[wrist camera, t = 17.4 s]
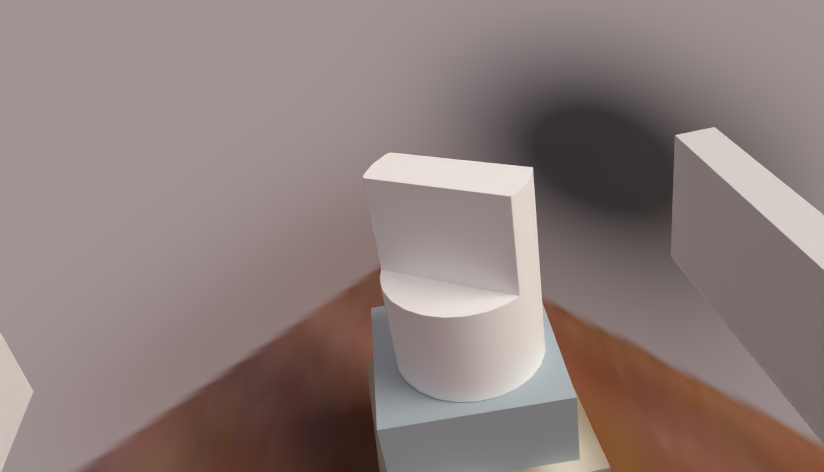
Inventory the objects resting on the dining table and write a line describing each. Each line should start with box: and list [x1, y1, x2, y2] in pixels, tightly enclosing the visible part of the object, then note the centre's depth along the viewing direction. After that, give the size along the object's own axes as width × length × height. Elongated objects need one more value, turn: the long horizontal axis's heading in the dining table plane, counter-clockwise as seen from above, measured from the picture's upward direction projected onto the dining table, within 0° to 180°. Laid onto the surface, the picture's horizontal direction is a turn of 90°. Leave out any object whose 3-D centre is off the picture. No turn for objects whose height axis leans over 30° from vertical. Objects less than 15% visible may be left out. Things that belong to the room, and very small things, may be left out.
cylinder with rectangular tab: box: [363, 153, 545, 402], centre depth 43 cm, size 9×9×12 cm
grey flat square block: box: [371, 303, 580, 472], centre depth 48 cm, size 11×11×5 cm
